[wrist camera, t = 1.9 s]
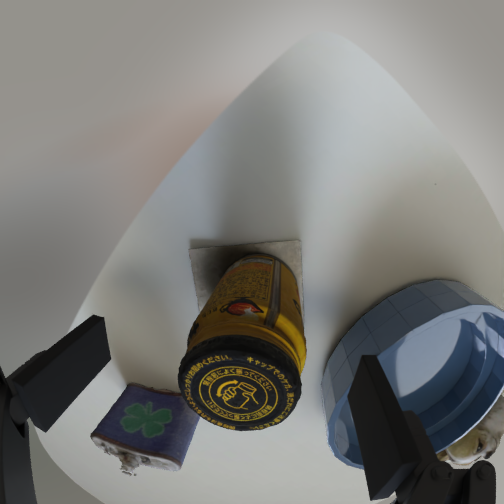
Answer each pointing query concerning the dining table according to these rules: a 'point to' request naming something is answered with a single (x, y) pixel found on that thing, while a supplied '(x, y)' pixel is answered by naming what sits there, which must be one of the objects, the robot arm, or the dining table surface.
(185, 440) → the flask
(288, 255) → the condiment
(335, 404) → the basin
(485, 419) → the ceramic sculpture
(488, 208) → the dining table surface
